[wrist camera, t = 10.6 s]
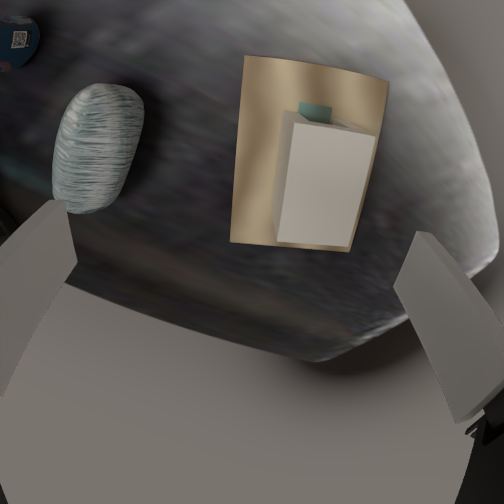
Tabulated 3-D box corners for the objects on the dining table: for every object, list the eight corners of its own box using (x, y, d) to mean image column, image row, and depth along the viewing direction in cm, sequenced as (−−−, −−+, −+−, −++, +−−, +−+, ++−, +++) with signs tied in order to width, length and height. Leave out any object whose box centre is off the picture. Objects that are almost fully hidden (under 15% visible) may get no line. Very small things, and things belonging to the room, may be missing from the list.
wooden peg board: (230, 235, 35) (227, 263, 31) (245, 56, 24) (243, 52, 20) (346, 245, 36) (358, 272, 31) (383, 80, 25) (407, 84, 20)
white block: (271, 206, 31) (276, 241, 25) (283, 111, 26) (294, 122, 20) (329, 211, 32) (347, 246, 26) (347, 121, 26) (375, 136, 20)
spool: (125, 230, 31) (55, 237, 22) (80, 188, 33) (16, 185, 23) (187, 119, 28) (126, 86, 18) (131, 89, 29) (71, 61, 20)
